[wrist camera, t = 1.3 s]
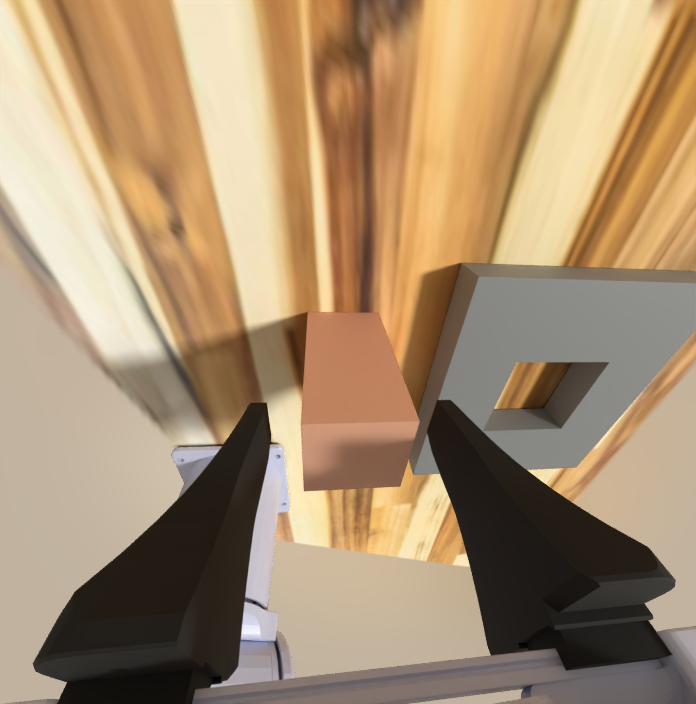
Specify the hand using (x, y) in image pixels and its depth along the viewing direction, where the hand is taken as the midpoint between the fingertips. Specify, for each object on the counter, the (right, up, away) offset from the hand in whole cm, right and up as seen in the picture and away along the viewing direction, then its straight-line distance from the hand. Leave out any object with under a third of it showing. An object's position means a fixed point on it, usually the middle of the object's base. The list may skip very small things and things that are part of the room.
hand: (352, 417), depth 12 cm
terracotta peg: (-1, +3, +5) cm, 6 cm away
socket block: (+12, +1, +8) cm, 15 cm away
